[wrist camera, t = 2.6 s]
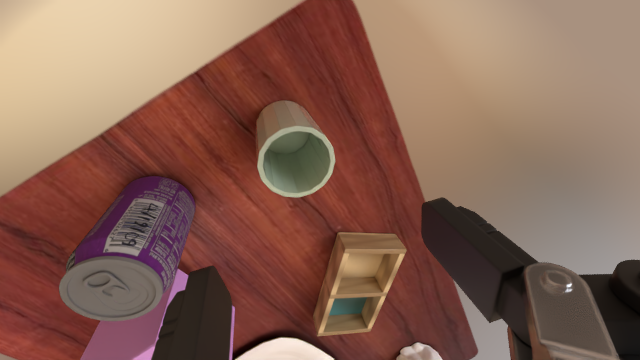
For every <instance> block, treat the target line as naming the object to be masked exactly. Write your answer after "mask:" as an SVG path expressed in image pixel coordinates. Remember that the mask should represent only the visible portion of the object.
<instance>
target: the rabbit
mask: <svg viewBox="0 0 640 360" xmlns="http://www.w3.org/2000/svg"><path fill="white" fill-rule="evenodd" d="M400 353H401V354H400V355H399V356H398V357H397V358H396V360H442V359H441V357H440V356H439V354H438V352H437V351H435V350H434V349H433V348H431V347H430V346H428V345H424V344H421V343H418V342H417V343H415V344H413V345H412V346H410V347H404V348H403V349H401V351H400Z"/></svg>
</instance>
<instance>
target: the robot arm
mask: <svg viewBox="0 0 640 360" xmlns="http://www.w3.org/2000/svg"><path fill="white" fill-rule="evenodd" d="M421 233H422V238H423V241H424V243H425V245H426V247H427V248H428V249H429V251H430V252H431V253H432V254H433V255H434V257H435V258H436V259H437V260H438V261H439V263H440V264H441V265H442V266H443V267H444V269H445V270H446V271H447V272H448V273H449V275H450V276H451V277H452V278H453V279H454V281H455V282H456V283H457V284H458V285H459V287H460V288H461V289H462V290H463V291H464V293H465V294H466V295H467V296H468V297H469V299H470V300H471V301H472V302H473V303H474V305H475V306H476V307H477V308H478V309H479V310H480V312H481V313H482V314H483V315H484V317H485V318H486V319H487V320H488V321H489V323H491V322H493V321H496V320H499V319H503V320H504V321H505V322H506V323H507V324H508V329H507V330H508V331H507V332H508V340H509V348H510V356H511V360H640V260H626V261H623V262H620V263H619V264H618V265H617V266H616V268H615V270H614V272H613V274H597V275H596V274H594V275H577V274H576V273H574V272H573V271H571V270H569V269H567V268H565V267H562V266H560V265H556V264H552V263H539V262H538V261H536V260H535V259H534V258H532V257H531V256H530V255H529V254H527V253H526V252H525V251H524V250H522V249H521V248H520V247H518V246H517V245H516V244H515V243H513V242H512V241H511V240H510V239H508V238H507V237H506V236H504V235H503V234H502V233H501V232H499V231H497V230H496V228H494V227H493V226H492V225H491V224H489V223H487V221H485V220H484V219H483V218H482V217H480V216H479V215H478V214H477V213H475V212H473V211H470V210H468V209H466V208H464V207H461V206H460V207H455V206H454V205H453V204H452V203H450V202H449V201H448V200H447V199H445V198H438V199H435V200H432V201H428V202H425V203H423V205H422V229H421ZM231 323H232V301H231V297H230V294H229V291H228V290H227V288H226V286H225V284H224V282H223V280H222V279H221V277H220V275H219V273H218V271H217V269H216V268H215V267H214V266H209V267H206V268H202V269H199V270H196V271H192V272H190V274H189V276H188V279H187V283H186V287H185V290H182V291H179V292H177V293H176V295H175V296H174V298H173V299H172V301H171V302H170V304H169V305H168V306H167V309H166V312H165V316H164V319H163V322H162V324H163V326H161V329H160V332H159V335H158V337H159V339H158V340H157V342H156V345H155V349H154V352H153V355H152V358H151V360H229V355H230V339H231Z"/></svg>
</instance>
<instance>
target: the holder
mask: <svg viewBox="0 0 640 360" xmlns="http://www.w3.org/2000/svg"><path fill="white" fill-rule="evenodd" d="M406 250H407V249H406V248H405V247H404V245H403V244H402V242H401V241H400V240H399V238H398V237H397V236H396V234H381V233H349V232H338V234H337V237H336V240H335V244H334V247H333V250H332V254H331V257H330V260H329V264H328V267H327V271H326V274H325V277H324V281H323V284H322V287H321V291H320V294H319V297H318V301H317V304H316V308H315V311H314V314H313V320H314V324H315V329H316V333H317V336H326V335H337V334H348V333H360V332H370V331H371V328H372V326H373V324H374V322H375V319H376V317H377V315H378V313H379V310H380V308H381V306H382V304H383V301H384V299H385V297H386V295H387V292H388V290H389V288H390V286H391V284H392V281H393V279H394V277H395V275H396V272H397V270H398V268H399V266H400V264H401V261H402V259H403V257H404V255H405V252H406Z"/></svg>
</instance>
